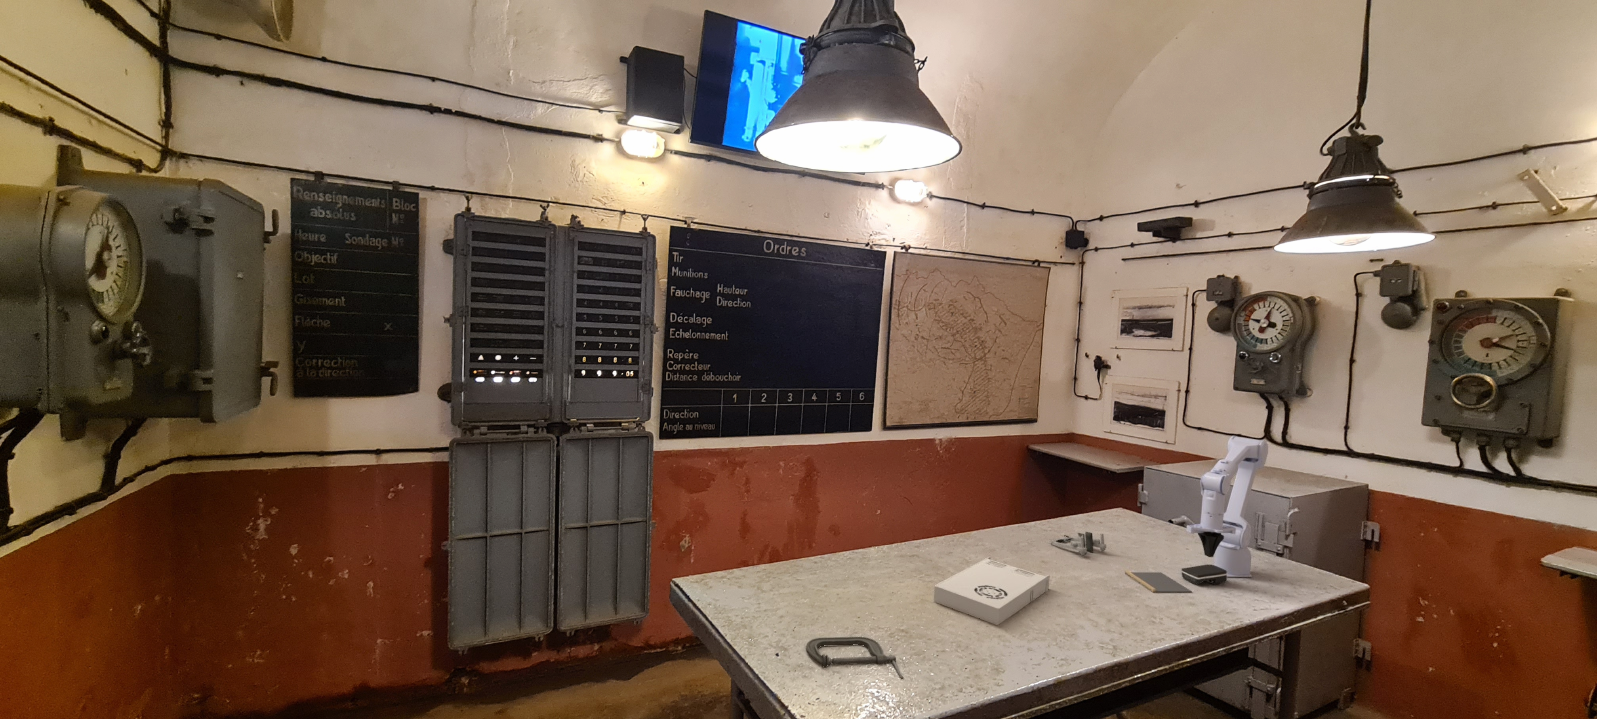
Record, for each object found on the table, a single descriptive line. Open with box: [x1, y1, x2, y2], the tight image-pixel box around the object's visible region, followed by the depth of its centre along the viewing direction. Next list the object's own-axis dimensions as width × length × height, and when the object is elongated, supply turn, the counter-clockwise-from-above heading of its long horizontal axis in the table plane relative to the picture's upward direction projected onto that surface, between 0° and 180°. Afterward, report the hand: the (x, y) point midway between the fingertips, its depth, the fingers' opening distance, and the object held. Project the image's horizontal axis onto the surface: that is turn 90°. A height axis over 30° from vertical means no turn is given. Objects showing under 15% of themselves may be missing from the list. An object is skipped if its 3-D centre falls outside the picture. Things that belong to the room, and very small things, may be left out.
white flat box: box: [933, 556, 1051, 626], centre depth 184 cm, size 19×33×5 cm, turn 137°
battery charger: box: [1180, 564, 1228, 585], centre depth 200 cm, size 7×4×11 cm
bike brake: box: [1048, 531, 1107, 556], centre depth 226 cm, size 14×7×20 cm
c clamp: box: [805, 636, 905, 680], centre depth 147 cm, size 20×17×3 cm
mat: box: [1124, 570, 1193, 594], centre depth 197 cm, size 12×14×1 cm
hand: (1208, 555), depth 198 cm, fingers closed
